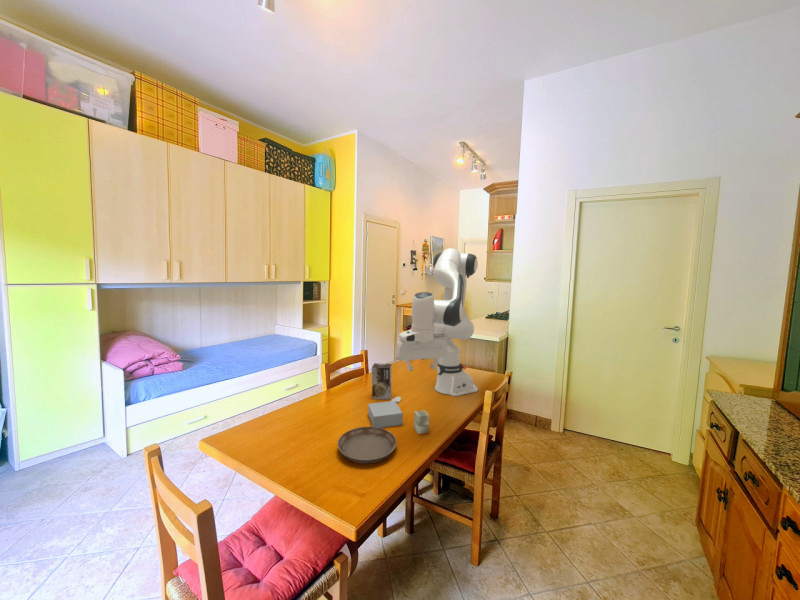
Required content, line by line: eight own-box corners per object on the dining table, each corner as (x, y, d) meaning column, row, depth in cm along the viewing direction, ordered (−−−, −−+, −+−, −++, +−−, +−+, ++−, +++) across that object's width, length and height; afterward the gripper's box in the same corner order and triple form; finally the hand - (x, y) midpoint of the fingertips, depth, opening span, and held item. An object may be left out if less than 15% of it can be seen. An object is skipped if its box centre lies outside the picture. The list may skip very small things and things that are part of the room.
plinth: (394, 411, 139) (394, 400, 139) (402, 424, 128) (402, 413, 127) (368, 414, 136) (368, 403, 136) (373, 428, 125) (373, 416, 124)
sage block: (424, 426, 127) (424, 410, 126) (428, 432, 122) (429, 415, 122) (414, 428, 125) (414, 411, 125) (417, 433, 121) (418, 416, 120)
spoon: (403, 400, 152) (403, 397, 152) (377, 417, 135) (377, 413, 135) (396, 398, 154) (396, 395, 154) (369, 414, 137) (369, 411, 137)
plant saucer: (402, 438, 119) (402, 429, 118) (387, 473, 99) (387, 463, 98) (351, 431, 123) (350, 423, 123) (327, 463, 103) (327, 453, 103)
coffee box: (391, 394, 158) (392, 363, 156) (390, 400, 151) (390, 367, 150) (374, 393, 159) (374, 362, 157) (371, 399, 152) (371, 367, 151)
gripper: (444, 331, 126) (443, 365, 127) (395, 334, 120) (394, 368, 122) (450, 335, 120) (449, 370, 121) (399, 337, 114) (399, 374, 116)
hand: (421, 369), depth 121 cm, fingers open, 8 cm apart
